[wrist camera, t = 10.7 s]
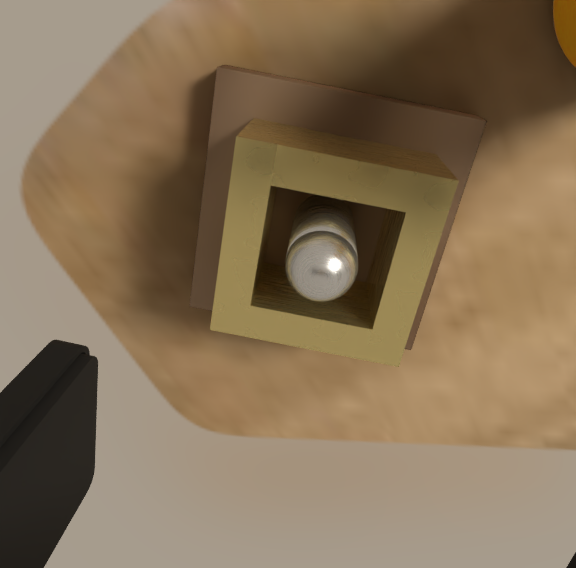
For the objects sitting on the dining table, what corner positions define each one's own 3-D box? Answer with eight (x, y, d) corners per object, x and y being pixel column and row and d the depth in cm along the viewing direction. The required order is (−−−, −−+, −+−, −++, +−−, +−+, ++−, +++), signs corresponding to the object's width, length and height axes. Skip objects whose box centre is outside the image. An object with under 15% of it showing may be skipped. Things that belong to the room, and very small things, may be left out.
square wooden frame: (436, 154, 20) (458, 180, 17) (388, 315, 23) (398, 366, 20) (253, 118, 20) (235, 136, 17) (229, 283, 23) (209, 329, 20)
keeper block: (476, 115, 21) (540, 151, 14) (406, 333, 25) (432, 435, 19) (224, 64, 21) (176, 78, 14) (197, 291, 25) (150, 380, 19)
